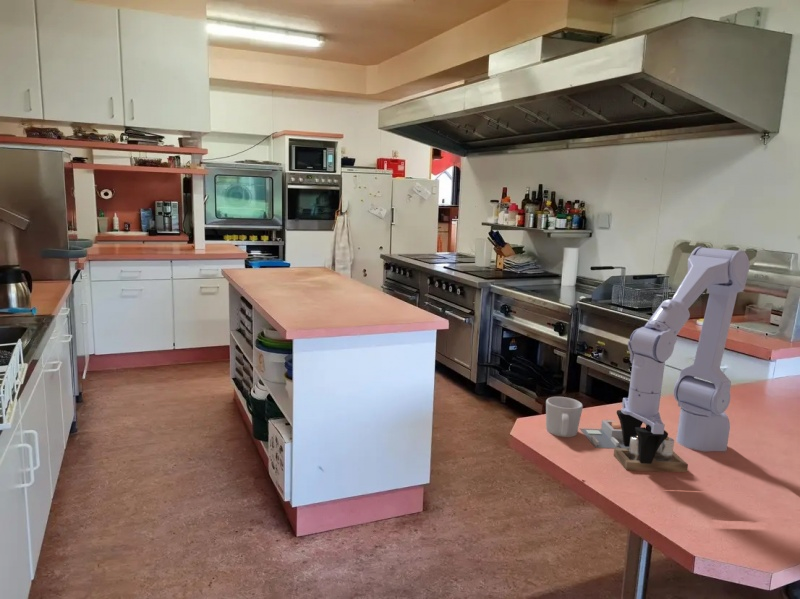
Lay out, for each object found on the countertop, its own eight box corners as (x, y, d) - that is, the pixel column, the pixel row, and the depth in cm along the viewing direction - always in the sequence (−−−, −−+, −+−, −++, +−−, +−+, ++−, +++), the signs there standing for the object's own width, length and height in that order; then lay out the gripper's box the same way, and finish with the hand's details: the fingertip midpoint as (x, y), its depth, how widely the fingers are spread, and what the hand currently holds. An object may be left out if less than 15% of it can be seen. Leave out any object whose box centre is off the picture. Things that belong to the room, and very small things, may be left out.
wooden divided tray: (670, 463, 119) (672, 450, 118) (686, 477, 113) (688, 464, 112) (613, 461, 119) (614, 448, 118) (625, 475, 112) (627, 462, 112)
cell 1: (639, 460, 117) (643, 433, 116) (646, 467, 114) (649, 439, 113) (625, 460, 117) (628, 432, 116) (631, 467, 114) (634, 439, 113)
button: (624, 429, 131) (625, 421, 131) (630, 436, 128) (631, 427, 127) (608, 429, 131) (609, 420, 131) (614, 435, 128) (615, 426, 127)
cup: (582, 450, 123) (586, 415, 122) (544, 445, 125) (547, 410, 123) (577, 431, 134) (580, 398, 132) (542, 427, 135) (545, 394, 134)
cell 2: (666, 461, 117) (669, 434, 116) (673, 468, 114) (677, 440, 113) (651, 461, 117) (655, 434, 116) (658, 468, 114) (662, 440, 113)
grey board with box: (626, 435, 133) (627, 421, 132) (646, 454, 122) (647, 439, 122) (578, 433, 132) (580, 419, 132) (594, 453, 122) (596, 437, 122)
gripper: (611, 376, 120) (604, 438, 122) (641, 400, 106) (632, 470, 108) (644, 378, 120) (636, 439, 122) (679, 402, 106) (669, 471, 108)
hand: (637, 454), depth 115 cm, fingers open, 7 cm apart
